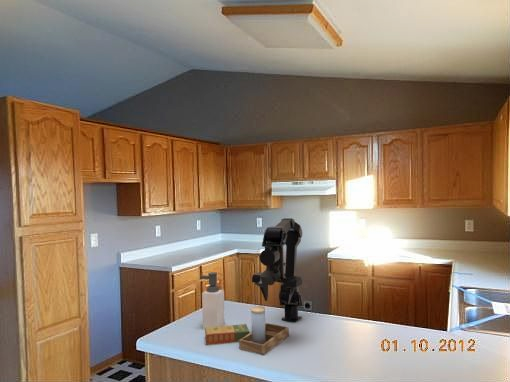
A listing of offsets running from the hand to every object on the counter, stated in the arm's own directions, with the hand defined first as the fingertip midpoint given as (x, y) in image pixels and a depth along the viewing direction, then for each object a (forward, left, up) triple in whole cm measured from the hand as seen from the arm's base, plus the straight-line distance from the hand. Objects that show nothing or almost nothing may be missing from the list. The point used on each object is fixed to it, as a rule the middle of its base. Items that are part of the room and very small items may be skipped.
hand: (276, 302), depth 139 cm
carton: (+10, -16, -14) cm, 23 cm away
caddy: (+6, -2, -13) cm, 14 cm away
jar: (+10, -2, -12) cm, 16 cm away
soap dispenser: (+3, -29, -13) cm, 32 cm away
